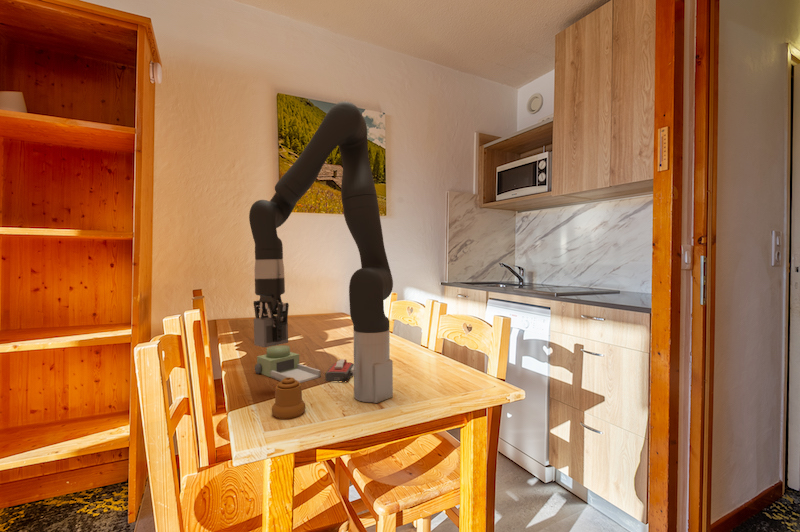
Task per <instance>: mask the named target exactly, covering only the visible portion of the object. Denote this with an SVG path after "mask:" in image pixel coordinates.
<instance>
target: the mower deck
mask: <svg viewBox="0 0 800 532" xmlns="http://www.w3.org/2000/svg"><path fill="white" fill-rule="evenodd" d="M290 347H291V346H289V345H286V344H279V345H274V346H270V347H266V351H265V352H266V353H265V354H263V355H258V356H256V364H255V366H254V371H255V372H254V373H256V374H257V375H259V374H261V375H263V376H265V377H268V378H271V379H274V380H277V381H278V382H281V381H282V380H283V379H284V378H288V377H292V378H294V379H295V380H297V381H298V382H299V383H301V384H303V383H305V382H308V381H312V380H315V379H319V378H321V374H322V373H321V370H320V369H318V368H314V367H311V366H307V365H305V364H302V363H300V354H299V353H296V352H292V351H291V348H290Z"/></svg>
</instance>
